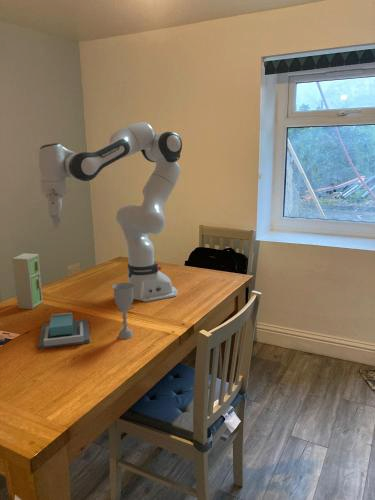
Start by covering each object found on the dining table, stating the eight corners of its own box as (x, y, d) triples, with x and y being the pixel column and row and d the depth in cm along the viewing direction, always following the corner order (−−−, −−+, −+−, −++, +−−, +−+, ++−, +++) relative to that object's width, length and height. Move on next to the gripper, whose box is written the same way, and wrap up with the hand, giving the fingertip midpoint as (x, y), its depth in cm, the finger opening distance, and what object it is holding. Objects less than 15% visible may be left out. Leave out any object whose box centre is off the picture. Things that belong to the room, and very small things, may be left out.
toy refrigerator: (33, 309, 156) (28, 259, 150) (17, 308, 157) (11, 258, 152) (44, 302, 163) (40, 253, 158) (29, 301, 165) (23, 253, 159)
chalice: (118, 342, 129) (115, 290, 124) (112, 333, 135) (109, 284, 130) (139, 337, 132) (137, 287, 128) (132, 329, 138) (130, 281, 134)
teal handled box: (73, 325, 139) (72, 312, 138) (72, 337, 130) (71, 323, 129) (52, 327, 137) (51, 314, 136) (50, 339, 128) (48, 325, 127)
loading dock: (88, 321, 147) (87, 310, 146) (90, 347, 128) (89, 335, 127) (43, 326, 143) (42, 315, 142) (38, 353, 124) (37, 341, 123)
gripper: (61, 190, 135) (64, 230, 139) (63, 186, 154) (66, 220, 158) (42, 191, 134) (46, 230, 137) (46, 186, 153) (49, 221, 156)
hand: (56, 225), depth 148 cm, fingers open, 8 cm apart
